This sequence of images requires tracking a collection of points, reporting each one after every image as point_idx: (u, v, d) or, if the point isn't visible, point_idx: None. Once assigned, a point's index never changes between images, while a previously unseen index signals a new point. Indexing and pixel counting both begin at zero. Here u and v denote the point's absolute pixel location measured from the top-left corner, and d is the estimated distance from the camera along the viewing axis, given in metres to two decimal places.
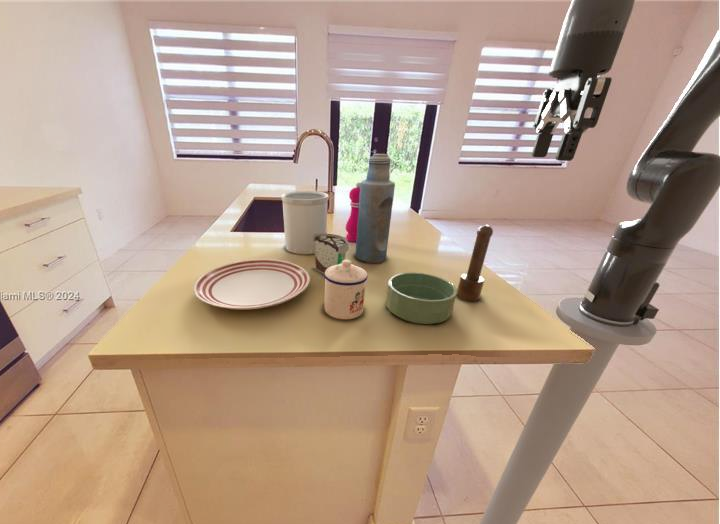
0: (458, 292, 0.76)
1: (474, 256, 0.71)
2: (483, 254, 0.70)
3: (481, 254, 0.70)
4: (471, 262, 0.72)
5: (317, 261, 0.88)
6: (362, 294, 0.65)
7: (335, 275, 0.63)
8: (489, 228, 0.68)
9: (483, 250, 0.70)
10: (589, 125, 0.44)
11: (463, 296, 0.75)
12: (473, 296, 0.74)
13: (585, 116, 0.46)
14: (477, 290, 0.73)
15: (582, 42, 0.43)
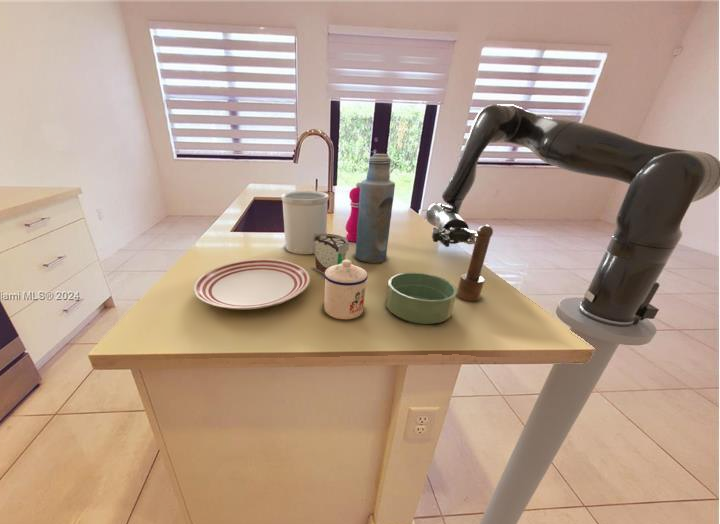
0: (458, 292, 0.76)
1: (474, 256, 0.71)
2: (483, 254, 0.70)
3: (481, 254, 0.70)
4: (471, 262, 0.72)
5: (317, 261, 0.88)
6: (362, 294, 0.65)
7: (335, 275, 0.63)
8: (489, 228, 0.68)
9: (483, 250, 0.70)
10: (435, 235, 0.87)
11: (463, 296, 0.75)
12: (473, 296, 0.74)
13: None
14: (477, 290, 0.73)
15: None
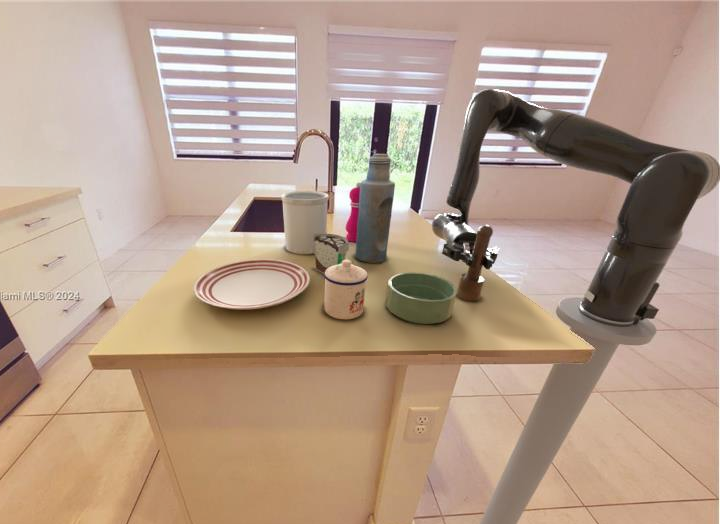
0: (458, 292, 0.76)
1: (474, 256, 0.71)
2: (483, 254, 0.70)
3: (481, 254, 0.70)
4: None
5: (317, 261, 0.88)
6: (362, 294, 0.65)
7: (335, 275, 0.63)
8: (489, 228, 0.68)
9: (483, 250, 0.70)
10: (456, 254, 0.74)
11: (463, 296, 0.75)
12: (473, 296, 0.74)
13: (463, 251, 0.75)
14: (477, 290, 0.73)
15: None
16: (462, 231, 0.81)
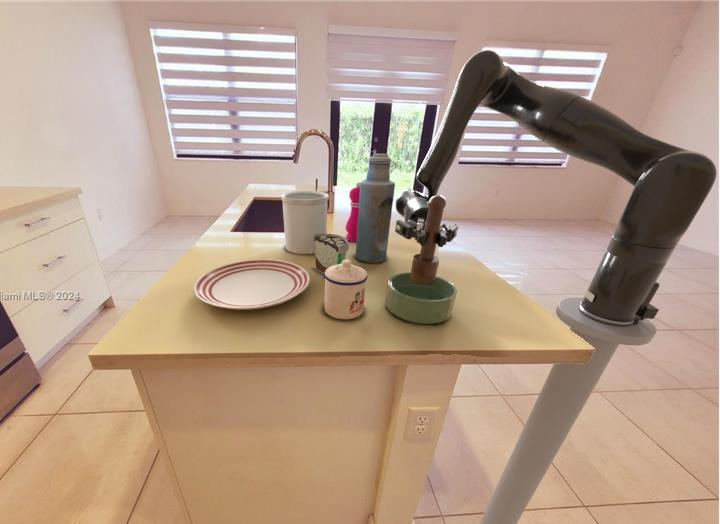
0: (411, 275, 0.67)
1: (426, 232, 0.62)
2: (435, 229, 0.61)
3: (434, 230, 0.61)
4: None
5: (317, 261, 0.88)
6: (362, 294, 0.65)
7: (335, 275, 0.63)
8: (441, 198, 0.58)
9: (435, 225, 0.60)
10: (407, 230, 0.65)
11: (416, 279, 0.65)
12: (426, 279, 0.64)
13: (416, 227, 0.65)
14: (430, 272, 0.64)
15: None
16: (419, 207, 0.71)
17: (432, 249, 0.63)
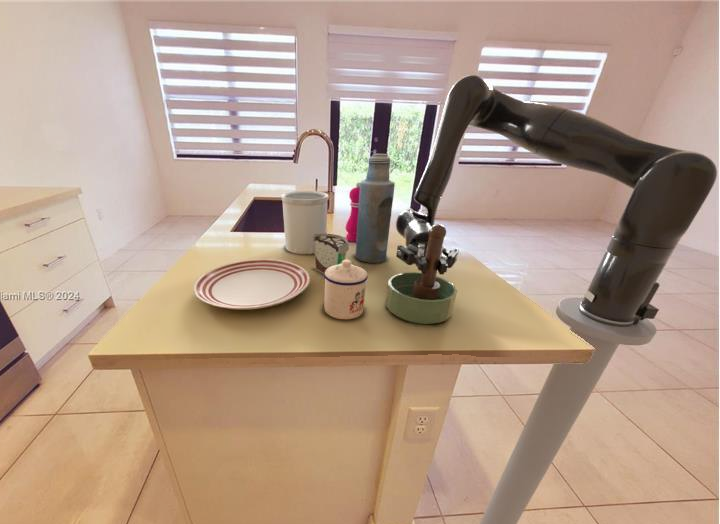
0: None
1: (427, 260, 0.63)
2: (436, 257, 0.62)
3: (434, 258, 0.62)
4: None
5: (317, 261, 0.88)
6: (362, 294, 0.65)
7: (335, 275, 0.63)
8: (441, 228, 0.59)
9: (436, 253, 0.61)
10: (408, 257, 0.66)
11: None
12: None
13: (417, 253, 0.66)
14: (431, 298, 0.65)
15: None
16: (420, 231, 0.72)
17: (433, 276, 0.64)
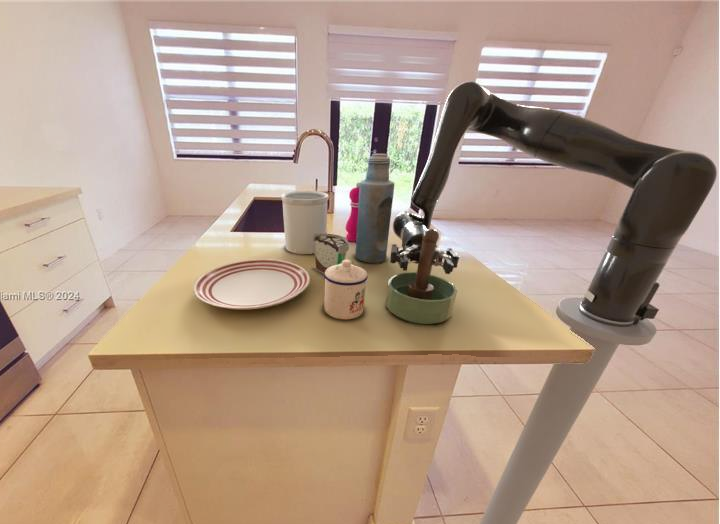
0: None
1: (420, 263, 0.65)
2: (429, 260, 0.64)
3: (427, 261, 0.64)
4: (418, 269, 0.66)
5: (317, 261, 0.88)
6: (362, 294, 0.65)
7: (335, 275, 0.63)
8: (434, 232, 0.61)
9: (429, 256, 0.63)
10: (391, 255, 0.69)
11: None
12: None
13: None
14: None
15: None
16: (415, 233, 0.74)
17: (426, 278, 0.66)
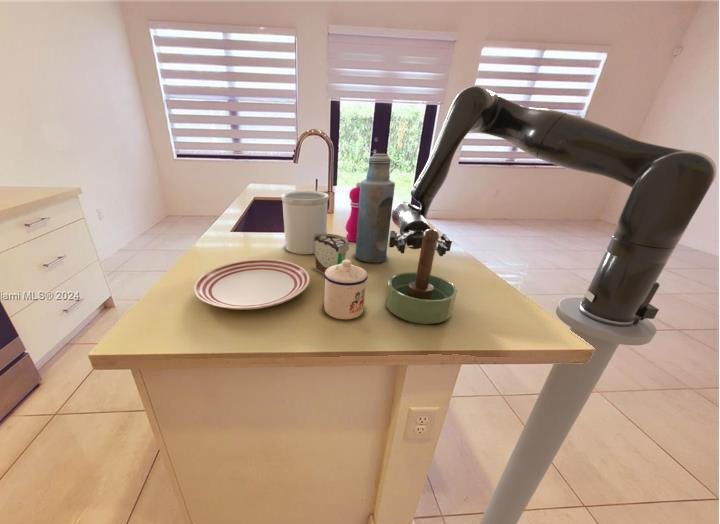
0: None
1: (420, 263, 0.65)
2: (429, 260, 0.64)
3: (427, 261, 0.64)
4: (418, 269, 0.66)
5: (317, 261, 0.88)
6: (362, 294, 0.65)
7: (335, 275, 0.63)
8: (434, 232, 0.61)
9: (429, 256, 0.63)
10: (390, 240, 0.75)
11: None
12: None
13: None
14: None
15: None
16: (412, 220, 0.80)
17: (426, 278, 0.66)
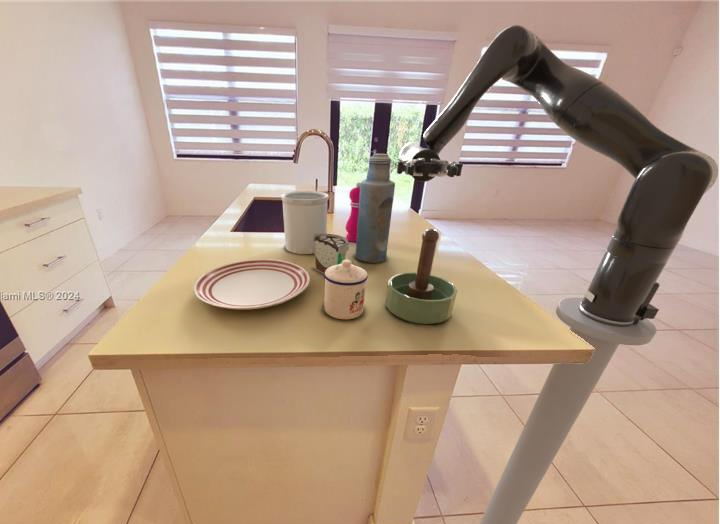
0: None
1: (420, 263, 0.65)
2: (429, 260, 0.64)
3: (427, 261, 0.64)
4: (418, 269, 0.66)
5: (317, 261, 0.88)
6: (362, 294, 0.65)
7: (335, 275, 0.63)
8: (434, 232, 0.61)
9: (429, 256, 0.63)
10: (398, 165, 0.72)
11: None
12: None
13: (410, 163, 0.73)
14: None
15: None
16: (420, 150, 0.77)
17: (426, 278, 0.66)
